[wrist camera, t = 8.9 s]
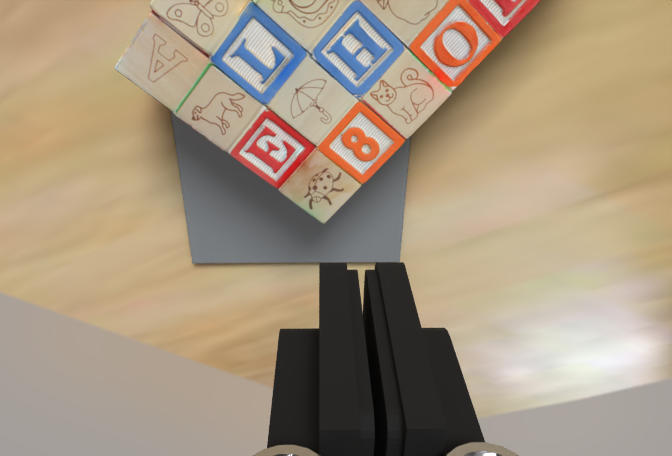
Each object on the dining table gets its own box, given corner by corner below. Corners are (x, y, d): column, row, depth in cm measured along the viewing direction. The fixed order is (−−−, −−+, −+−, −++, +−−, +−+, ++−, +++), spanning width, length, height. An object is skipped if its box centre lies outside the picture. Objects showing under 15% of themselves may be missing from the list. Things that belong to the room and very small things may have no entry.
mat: (436, -180, 24) (438, -183, 23) (398, 257, 35) (399, 261, 35) (131, -188, 23) (127, -191, 23) (194, 258, 35) (192, 263, 34)
